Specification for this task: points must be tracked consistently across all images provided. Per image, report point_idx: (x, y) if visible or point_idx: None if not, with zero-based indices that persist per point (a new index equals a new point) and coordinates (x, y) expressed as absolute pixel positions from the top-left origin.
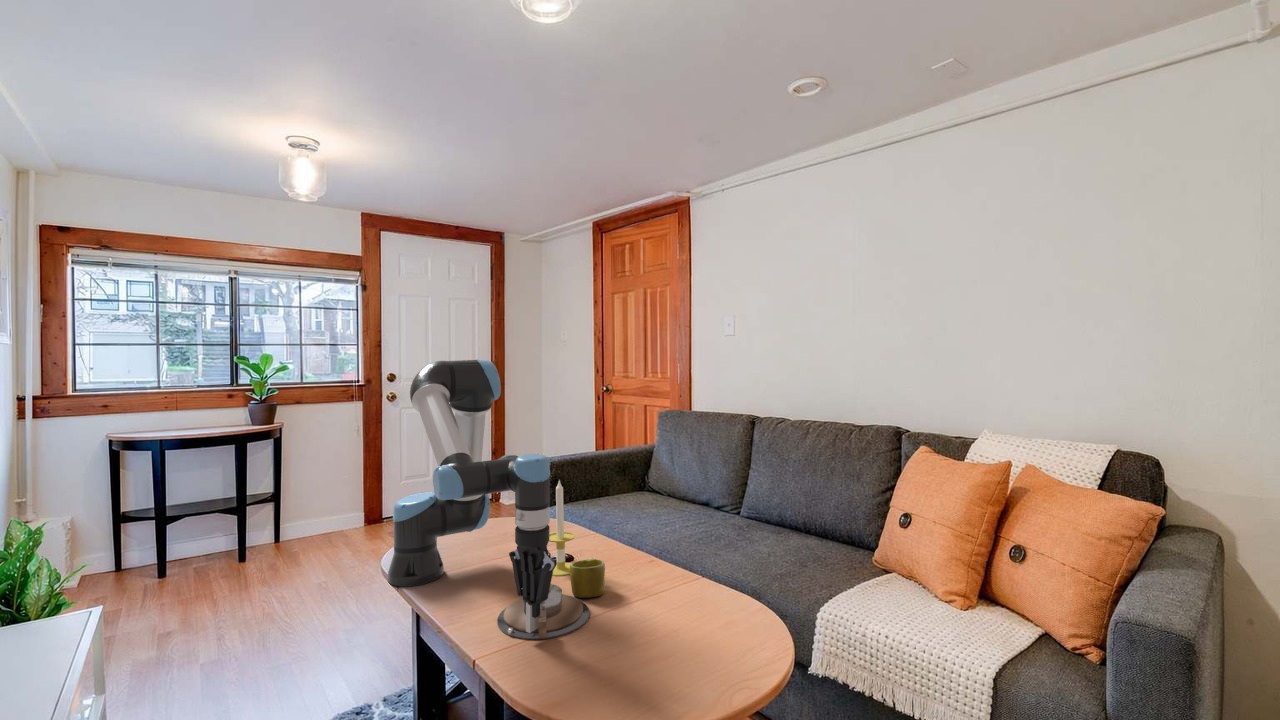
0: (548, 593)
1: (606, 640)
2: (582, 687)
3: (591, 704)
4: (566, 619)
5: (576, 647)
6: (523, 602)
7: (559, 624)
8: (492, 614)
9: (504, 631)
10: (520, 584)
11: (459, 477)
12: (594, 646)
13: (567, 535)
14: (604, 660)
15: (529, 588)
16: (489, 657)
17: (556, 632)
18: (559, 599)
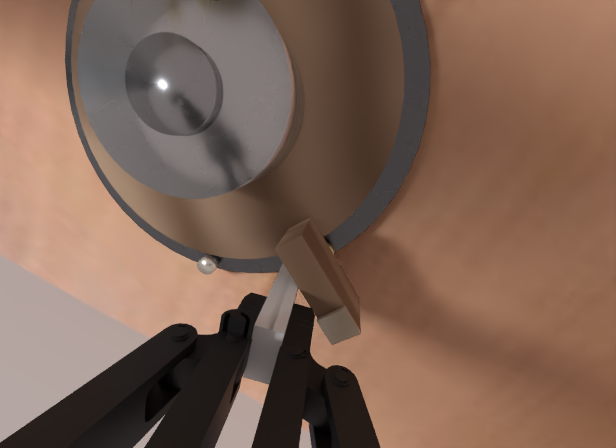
0: (368, 413)
1: (567, 192)
2: (558, 437)
3: None
4: (364, 146)
5: (463, 267)
6: None
7: (356, 195)
8: (65, 153)
9: (188, 256)
10: (143, 431)
11: None
12: (529, 245)
13: None
14: (593, 314)
15: (221, 421)
16: None
17: (357, 217)
18: (294, 90)
